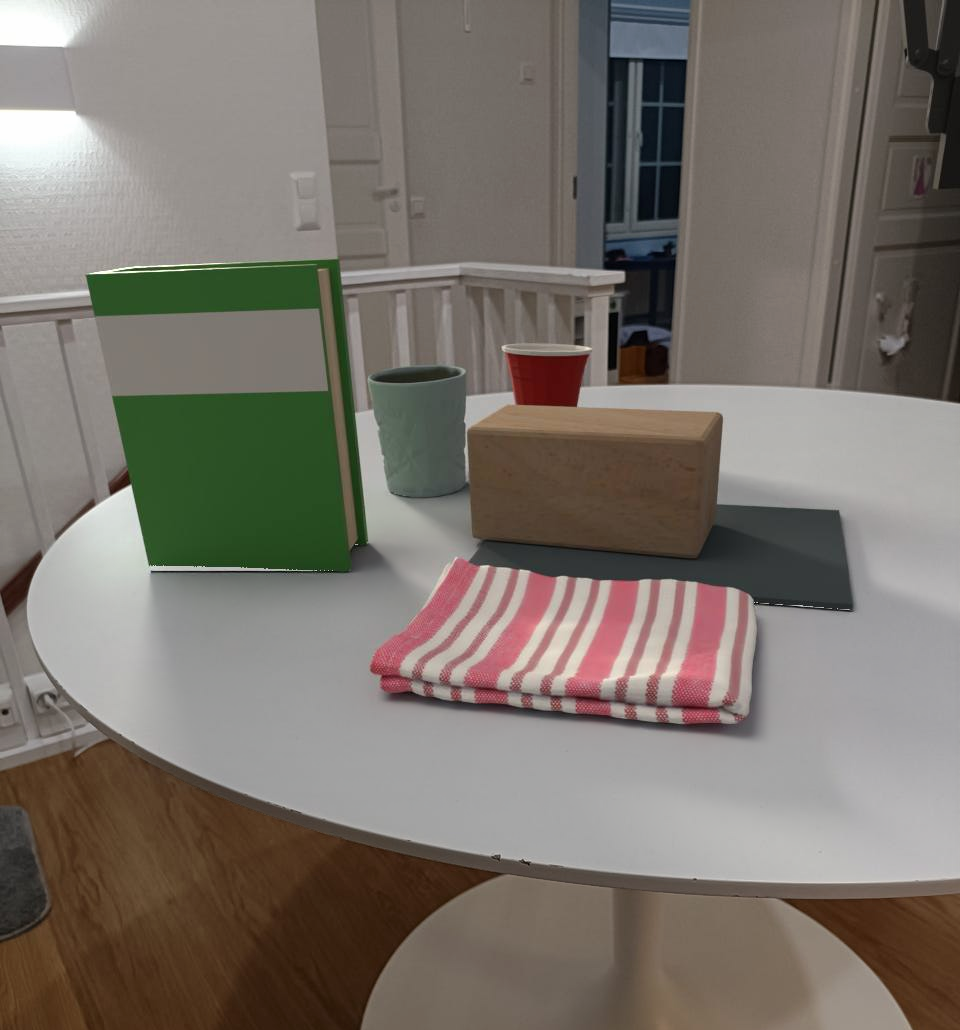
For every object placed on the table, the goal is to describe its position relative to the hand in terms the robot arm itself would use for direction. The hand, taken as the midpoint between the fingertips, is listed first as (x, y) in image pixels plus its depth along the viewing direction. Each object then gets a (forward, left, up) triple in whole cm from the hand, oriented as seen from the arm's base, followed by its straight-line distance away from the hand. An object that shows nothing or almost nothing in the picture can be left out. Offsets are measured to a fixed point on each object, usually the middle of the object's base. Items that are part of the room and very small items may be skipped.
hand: (947, 188), depth 62 cm
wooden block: (+14, 0, -22) cm, 26 cm away
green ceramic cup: (+45, -14, -27) cm, 55 cm away
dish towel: (+21, +22, -27) cm, 41 cm away
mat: (+18, 0, -27) cm, 33 cm away
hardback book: (+52, +9, -27) cm, 60 cm away
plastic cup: (+36, -34, -27) cm, 57 cm away
